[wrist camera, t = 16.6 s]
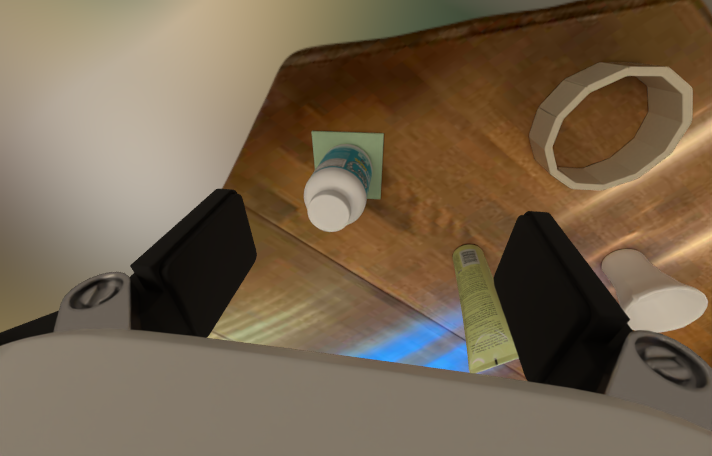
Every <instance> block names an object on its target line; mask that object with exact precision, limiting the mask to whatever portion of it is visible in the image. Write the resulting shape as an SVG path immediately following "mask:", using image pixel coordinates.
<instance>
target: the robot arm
mask: <svg viewBox="0 0 712 456" xmlns="http://www.w3.org/2000/svg"><path fill="white" fill-rule="evenodd" d="M256 256H257V253H256V248H255V245H254V241H253V237H252V233H251V229H250V226H249V222H248V218H247V214H246V211H245V207H244V203H243V199H242V196H241V195H240V194H237V192H236V191H235V190H230V189H216V190H215V191H214V192H212V193H211V194H210V195H209V196H208V197H207V198H206V199H205V200H204V201H202V202H201V203H200V204H199V205H198V206H197V207H196V208H194V209H193V210H192V211H191V212H190V213H189V214H188V215H187V216H186V217H184V218H183V219H182V220H181V221H180V222H179V223H178V224H177V225H175V226H174V227H173V228H172V229H171V230H170V231H169V232H167V233H166V234H165V235H164V236H163V237H162V238H161V239H160V240H158V241H157V242H156V243H155V244H154V245H153V246H152V247H151V248H149V249H148V250H147V251H146V252H145V253H144V254H143V255H142V256H140V257H139V258H138V259H137V260H136V261H135V262H134V263H133V264H131V268H132V270H133V271H134V274H133V275H131V277H129V276H128V275H126V274H125V273H121V272H109V273H105V274H100V275H97V276H94V277H92V278H89V279H87V280H85V281H83V282H82V283H80V284H78V285H77V286H75V287H74V288H73V289H71V290H70V291H69V292H68V293H67V294H66V295H65V297H64V298H63V300H62V302H61V305H60V309H59V311H57V312H54V313H51V314H49V315H46V316H43V317H41V318H38V319H36V320H33V321H30V322H28V323H25V324H22V325H20V326H17V327H14V328H12V329H9V330H6V331H4V332H1V333H0V456H712V369H711V367H710V366H709V365H708V364H707V363H706V362H705V361H704V360H703V359H702V358H701V357H700V356H698V355H697V354H696V353H695V352H693V351H692V350H691V349H689V348H688V347H686V346H685V345H683V344H681V343H680V342H678V341H676V340H674V339H672V338H670V337H667V336H665V335H663V334H660V333H656V332H652V331H647V330H637V331H633V330H632V329H631V328H630V326H629V325H628V324H627V323H628V321H629V320H630V318H629V317H628V316H627V315H626V313H625V312H624V311H623V309H622V308H621V307H620V305H619V304H618V303H617V301H616V300H615V299H614V297H613V296H612V295H611V293H610V292H609V291H608V290H607V288H606V287H605V286H604V284H603V283H602V282H601V280H600V279H599V278H598V276H597V275H596V274H595V272H594V271H593V270H592V268H591V267H590V266H589V264H588V263H587V262H586V261H585V259H584V258H583V257H582V255H581V254H580V253H579V251H578V250H577V249H576V247H575V246H574V245H573V243H572V242H571V241H570V239H569V238H568V237H567V236H566V234H565V233H564V232H563V230H562V229H561V228H560V226H559V225H558V224H557V222H556V221H555V220H554V218H553V217H552V216H551V214H549V213H547V212H534V211H528V212H526V213H525V214H524V215H520V216H519V217H518V219H517V221H516V223H515V226H514V228H513V231H512V233H511V236H510V238H509V241H508V243H507V245H506V248H505V250H504V253H503V255H502V258H501V260H500V263H499V265H498V268H497V270H496V273H495V275H494V286H495V289H496V292H497V295H498V298H499V301H500V304H501V307H502V310H503V313H504V316H505V319H506V322H507V324H508V327H509V330H510V333H511V336H512V339H513V342H514V345H515V348H516V351H517V354H518V357H519V360H520V363H521V365H522V368H523V371H524V374H525V377H526V379H527V380H528V381H529V382H528V381H522V380H515V379H509V378H502V377H495V376H488V375H481V374H474V373H466V372H459V371H452V370H445V369H438V368H430V367H423V366H416V365H409V364H402V363H394V362H387V361H379V360H372V359H364V358H357V357H350V356H342V355H335V354H327V353H320V352H312V351H304V350H297V349H289V348H282V347H274V346H266V345H258V344H251V343H243V342H235V341H227V340H219V339H211V338H207V337H208V336H209V334H210V333H211V331H212V330H213V328H214V327H215V325H216V323H217V322H218V320H219V318H220V317H221V315H222V314H223V312H224V310H225V309H226V307H227V306H228V304H229V302H230V301H231V299H232V298H233V296H234V294H235V293H236V291H237V290H238V288H239V286H240V285H241V283H242V282H243V280H244V278H245V277H246V275H247V274H248V272H249V270H250V269H251V267H252V266H253V264H254V262H255V260H256Z"/></svg>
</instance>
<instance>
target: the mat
mask: <svg viewBox="0 0 712 456" xmlns="http://www.w3.org/2000/svg"><path fill="white" fill-rule="evenodd" d="M383 139H384V133H361V132H332V131H312V141H313V152H314V163H315V170H316V168H317V167H318V165H319V164H320V162H321V161H322V159H323V157H324V156H325V155H326V153H327V152H328V151H329V150H330V149H331V148H333V147H335V146H337V145H341V144H351V145H354V146H357V147H359V148H360V149H362V150H363V151H364V152H365V153H366V154H367V155H368V157H369V159H370V161H371V164H372V177H371V182H370V186H369V191H368V195H367V198H368V199H380V198H381V179H382V159H383Z"/></svg>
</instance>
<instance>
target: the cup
mask: <svg viewBox="0 0 712 456" xmlns="http://www.w3.org/2000/svg"><path fill="white" fill-rule="evenodd" d="M601 269H602V271H603V272H604V273H605V275H606V276H607V278H608V279H609V280H610V282H611V283H612V285H613V287H614V288H615V290H616V294H617V297H618V300H619V302H620V307H621V308H622V309H623V311H624V312H625V313H626V315H627V316H628V317H629V318H630V320H629V321H628V323H627V324H628V325H629V326H630V328H631V329H633V330H636V331H637V330H647V331H652V332H665V331H671V330H675V329H678V328H682V327H685V326H686V325H688V324H690V323H691V322H693V321H695V320H696V319H698V318H699V317H700V316H701V315H702V314H703V313H704V311H705V309H706V308H707V305H708V300H707V298H706V296H705V294H703V293H702V292H701V291H699V290H697V289H696V288H693V287H691V286H688V285H685V284H682V283H680V282H679V281H677V280H675V279H674V278H672V277H671V276H669V275H667V274H665V273H663V272H662V271H661V270H659V269H658V268H657V267H655V266H654V265H653V264H652V263H651V262H650V261H649V260H648V259H647V258H646V257H645V256H644V255H643V254H642V253H641V252H639V251H637V250H634V249H621V250H617V251H614V252H612V253H610V254H609V255H607V256H606V257H605V258H604V260H603V261H602V267H601Z"/></svg>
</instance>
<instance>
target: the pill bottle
mask: <svg viewBox="0 0 712 456" xmlns="http://www.w3.org/2000/svg"><path fill="white" fill-rule="evenodd" d="M371 177H372V164H371V161H370V159H369V157H368V155H367V154H366V153H365V152H364V151H363V150H362V149H360V148H359V147H357V146H354V145H351V144H341V145H337V146H335V147H333V148H331V149H330V150H329V151H328V152H327V153H326V155H325V156H324V157H323V159H322V161H321V162H320V164H319V165H318V167H317V168H316V170H315V171H314V173H313V174H312V176H311V177H310V179H309V180H308V182H307V184H306V186H305V190H304V201H305V205H306V207H307V209H308V216H309V219H310V221H311V222H312V223H313V224H314V225H315V226H316V227H317V228H319V229H321V230H323V231H328V232H335V231H339V230H341V229H343V228H344V227H345V226H346V225H348V224H351V223H353V222H354V221H356V220H357V219H358V218H359V217H360V215H361V214H362V213H363V211H364V208H365V205H366V200H367V195H368V191H369V186H370V182H371Z"/></svg>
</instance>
